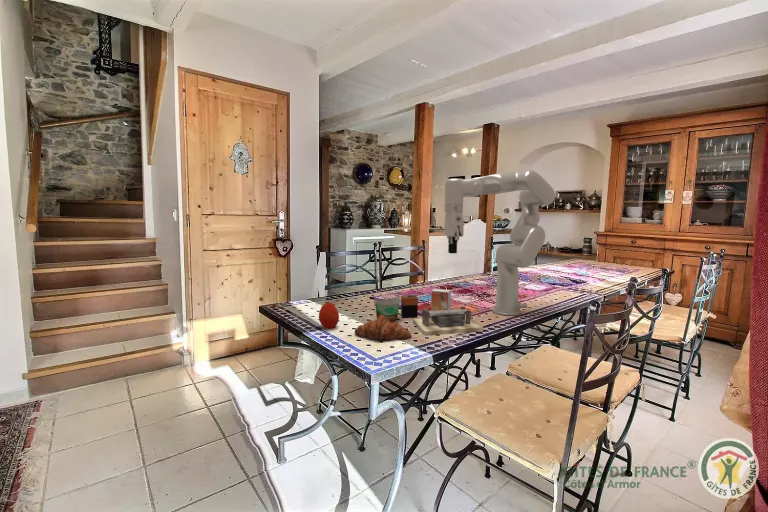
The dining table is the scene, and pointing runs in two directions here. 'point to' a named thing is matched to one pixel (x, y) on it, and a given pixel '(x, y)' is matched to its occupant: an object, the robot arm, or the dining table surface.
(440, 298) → the small box
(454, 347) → the dining table surface
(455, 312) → the clamp bar
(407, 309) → the battery
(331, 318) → the red egg
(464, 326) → the heatsink board
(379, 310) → the food container
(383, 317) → the pastry
